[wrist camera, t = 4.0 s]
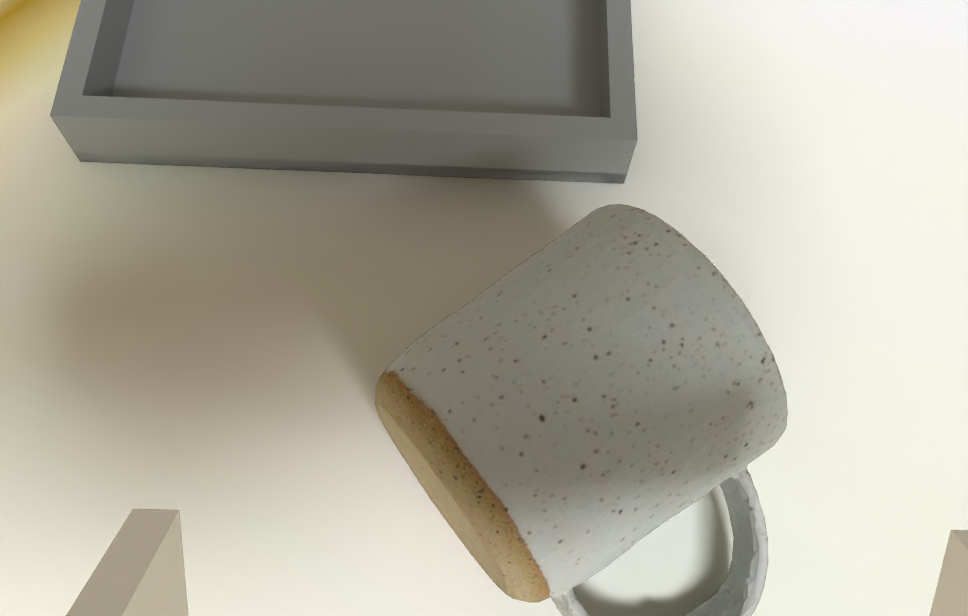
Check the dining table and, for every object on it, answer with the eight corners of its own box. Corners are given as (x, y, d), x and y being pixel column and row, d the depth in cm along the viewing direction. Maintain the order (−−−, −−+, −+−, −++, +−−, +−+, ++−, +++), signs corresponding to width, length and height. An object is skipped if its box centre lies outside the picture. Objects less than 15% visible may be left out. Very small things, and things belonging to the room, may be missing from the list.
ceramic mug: (364, 429, 27) (337, 330, 20) (577, 278, 29) (621, 142, 22) (598, 745, 24) (664, 761, 17) (816, 550, 26) (955, 492, 19)
